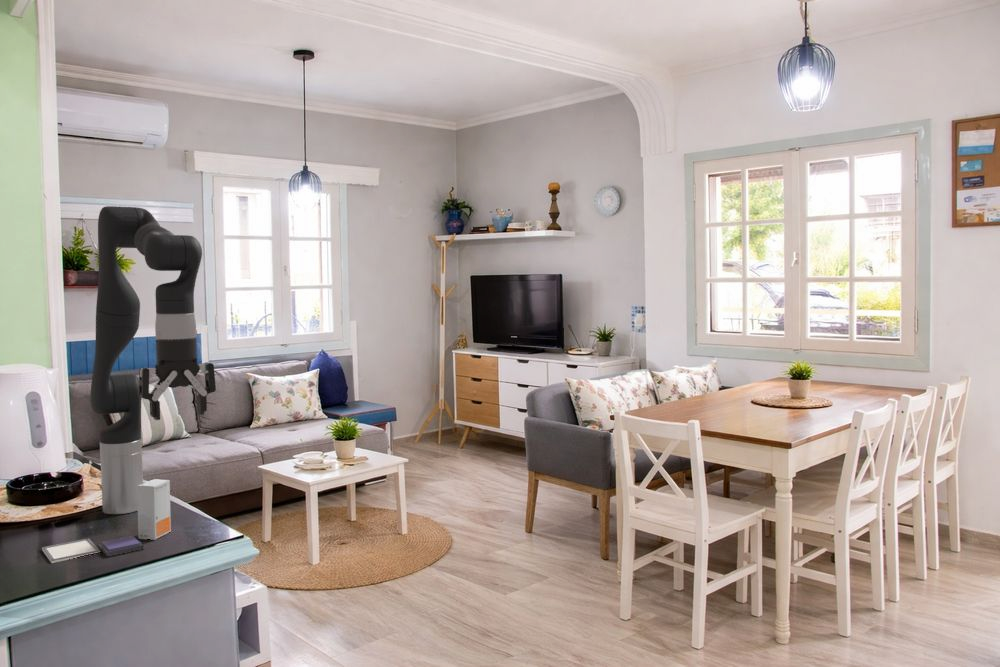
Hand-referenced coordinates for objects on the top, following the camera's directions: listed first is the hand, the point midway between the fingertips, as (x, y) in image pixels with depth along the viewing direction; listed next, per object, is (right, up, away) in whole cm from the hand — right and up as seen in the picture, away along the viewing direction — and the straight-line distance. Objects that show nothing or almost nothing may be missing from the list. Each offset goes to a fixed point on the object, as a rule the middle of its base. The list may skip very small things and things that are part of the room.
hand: (179, 416), depth 160 cm
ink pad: (-16, -29, +9) cm, 34 cm away
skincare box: (-12, -28, +17) cm, 35 cm away
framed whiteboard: (-25, -29, +7) cm, 39 cm away
